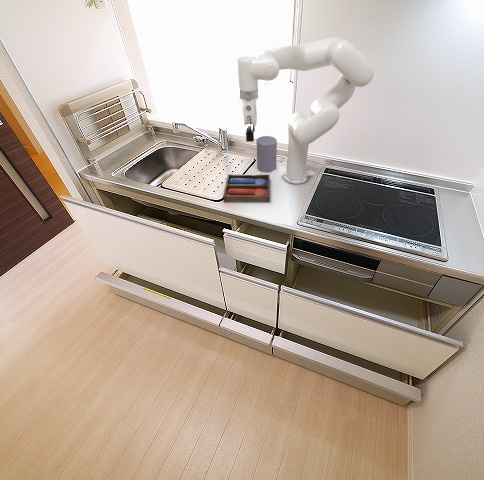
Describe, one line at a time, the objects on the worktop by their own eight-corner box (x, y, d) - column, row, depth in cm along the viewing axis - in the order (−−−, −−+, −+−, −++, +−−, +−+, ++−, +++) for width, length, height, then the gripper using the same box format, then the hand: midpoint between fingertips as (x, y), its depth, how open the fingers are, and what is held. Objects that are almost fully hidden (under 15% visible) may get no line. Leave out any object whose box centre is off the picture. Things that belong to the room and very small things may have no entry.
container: (272, 173, 137) (273, 146, 126) (254, 170, 139) (253, 143, 128) (278, 164, 144) (279, 137, 133) (261, 161, 146) (260, 134, 135)
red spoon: (265, 191, 124) (265, 186, 122) (265, 198, 120) (265, 193, 118) (228, 190, 124) (227, 185, 122) (227, 197, 120) (226, 192, 118)
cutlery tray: (269, 180, 132) (269, 174, 130) (269, 202, 119) (269, 196, 117) (228, 180, 132) (227, 174, 130) (224, 202, 119) (223, 196, 117)
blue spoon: (265, 180, 130) (265, 175, 128) (265, 187, 126) (265, 182, 124) (230, 180, 130) (229, 175, 128) (229, 187, 126) (228, 182, 124)
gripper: (257, 101, 96) (258, 145, 109) (258, 87, 109) (259, 128, 121) (237, 101, 96) (240, 145, 109) (240, 87, 108) (243, 128, 121)
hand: (250, 136), depth 115 cm, fingers open, 9 cm apart
